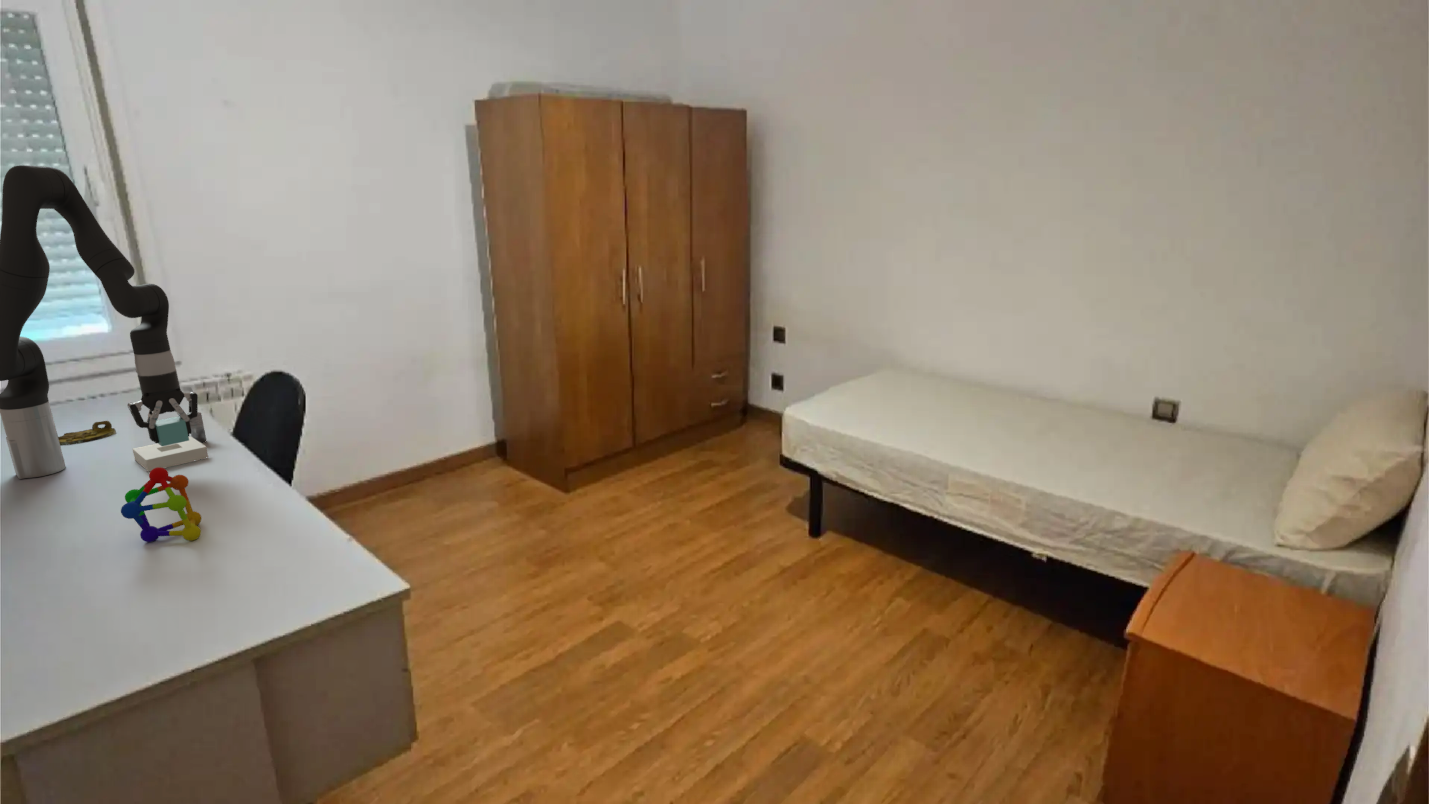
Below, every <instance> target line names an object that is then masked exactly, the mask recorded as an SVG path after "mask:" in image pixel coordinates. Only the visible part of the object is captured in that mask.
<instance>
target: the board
mask: <svg viewBox="0 0 1429 804" xmlns="http://www.w3.org/2000/svg"><path fill="white" fill-rule="evenodd" d="M188 437H189V441H185V442H180V443H176V444H171V445H166V446H161V445H159V444H158V443H154V444H148V445H144V446H139V447H134V448H132V453H133V458H134V460H135V462H137V463H138V464H139V465H140V466H142V467H143V469H145V470H146V471H147V472H149V473H150V471H151V470H153V469H154V468H158V467H161V468H164V469H166V468H170V467H175V466H179V465H183V464H187V463H190V462H195V461H194V460H196V461H200V459H201V460H204V458H205V459H207V458H206V457H209V453H208V447H207V446H206V445H205V444H204V443H200V442H199V441H197V440H196V439H194V438H193V437H192V436H188Z"/></svg>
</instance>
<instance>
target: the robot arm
mask: <svg viewBox="0 0 1429 804" xmlns="http://www.w3.org/2000/svg"><path fill="white" fill-rule="evenodd" d="M4 175H5V176H4V178H3V184H2V195H1V198H2V199H1V200H2V201H1V202H2V203H1V207H2V208H1V228H0V382H5V381H7V384H6V387H5V388H4V389H3V390H2V391H1V392H0V418H1V421H2V424H3V427H4V428H3V429H4V432H5V433H4V434H5V440H6V443H7V447H8V451H9V454H10V458H11V462H12V465H13V469H14V473H15V475H16V476H17V478H18V479H19V480H24V479H31V478H38V477H45V476H49V475H53V474H56V473H58V472H62V471H63V470H65V469H66V462H65V458H64V455H63V451H62V447H61V446H62V445H60V442H59V438H58V437H59V436H58V431H57V428H56V425H55V424H56V423H55V419H54V417H53V411H52V408H51V404H50V400H49V394H48V393H49V391H50V382H49V377H48V371H47V365H46V362H45V361H46V360H45V357H44V354H43V352H42V350H41V348H40V346H39V345H38V344H37V342H35V341H34V340H32V339H31V338H28V337H26V336H21V334H22V333H21V332H22V330H23V328H24V326H25V324H26V323H27V322H28V320H29V318H31V316H32V314H33V313H34V312H35V310H36V309H37V308H38V306H39V305H40V304H41V302H42V300H43V298H44V297H45V295H46V292H47V289H48V288H47V287H48V283H49V282H48V281H49V277H50V270H51V269H50V262H49V259H48V256H47V255H46V253H45V250H44V249H43V247H42V244H41V242H40V241H39V240H40V239H39V238H38V234H37V226H38V225H37V224H38V218H39V213H40V211H41V210H45V209H46V210H50V209H51V210H54V211H56V212H57V213H58V214H59V215H60V216H61V217H62V218H63V219H64V220H65V222H67V223H68V225H69V227H70V229H71V231H72V233H73V237H74V238H73V239H74V243H75V247H76V250H77V254H78V255H79V256H80V258H81V260H82V261H83V262H84V264H85V265H86V266H87V267H88V268H89V270H90V271H91V272H93V274H94V275H95V276H96V278H98V280H100V283H101V285H102V287H103V289H104V291H105V293H106V296H107V298H108V300H109V302H110V304H111V306H112V308H114V310H115V311H116V312H117V313H118V314H120V315H121V316H123V317H126V318H129V319H137V318H141V320H140V323H139V325H138V326H136V327H134V328H133V329H131V331H130V332H129V338H130V343H131V346H132V351H133V356H134V364H135V365H134V366H135V372H136V374H137V378H138V382H139V383H138V384H139V388H140V391H141V398H140V400H139V401H136V402H128V403H127V408H128V410H129V413H130V414H131V416H132V417H133V421H134V422H135V424H136V426H138V428H140V429H143V428H144V429H147V432H148V436H149V439H150V441H151V442H154V444H157V443H159V439H158V434H157V430H156V428H155V425H156V421H157V420H159V416H160V415H163V414H166V413H173V412H175V413H176V414H177V415H178V417H180V418H181V419H183V420H185V423H186V428H187V432H188V437H190V435H191V432H192V431H191V427H190V419H192V418H194V417H197V415H198V411H199V409H198V403H199V400H198V398H199V397H198V396H199V395H198V393H196V392H194V391H189V392H183V391H182V390H181V385H180V381H179V377H178V372H177V371H178V370H177V369H176V368H177V367H176V362H175V359H174V356H173V353H172V351H171V347H170V341H169V337H168V332H167V331H168V325H169V313H170V311H169V310H170V303H169V298H168V296H167V294H166V292H165V291H164V290H163V289H162V287H160V286H159V285H157V284H154V283H143V284H136V285H131V283H130V282H129V281H130V280H131V278H133V277H134V275H135V272H136V271H135V268H134V266H133V265H132V264H131V262H130V261H129V260H128V258H127V257H126V256H125V255H124V254H123V253H122V252H121V250H120V249H119V248H118V247H117V245H116V244H115V243H114V242H113V241H112V240H111V239H110V237H109V236H108V234H106V232H105V231H104V230H103V228H102V227H101V225H100V224H99V221H98V220H97V219H96V217H95V215H94V213H93V212H92V211H91V209H90V207H89V206H88V204H87V203H86V201H85V199H84V198H83V196H82V194H81V193H80V191H79V189H78V188H77V187H76V185H75V183H74V182H73V181H72V179H71V178H70V177H69V176H68V175H67V174H66V173H65V172H64V171H62V170H60V169H58V168H56V167H52V166H51V167H50V166H42V165H39V166H38V165H27V164H26V165H23V164H22V165H20V164H19V165H14V166H12V167H10V168H9V169H8V170H7V171H6V173H5V174H4ZM184 398H185V400H186V402H187V401H188V412H185V410H184V409H183V408H182V407H181V404H182V401H183V399H184ZM142 406H145V407H146V408H147V409H148V414H147V420H146V421H144V419H143V417H142V415H141V412H140V411H142Z"/></svg>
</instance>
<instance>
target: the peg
mask: <svg viewBox="0 0 1429 804" xmlns="http://www.w3.org/2000/svg"><path fill="white" fill-rule="evenodd" d="M203 421H204V419H203V415H202V412H200V411H199V412H198V415H197V417H194V418H192V419H190V427H191V431H192V432H191V434H190V437H193V438H194V439H196V440H197V441H199V442H200V443H202V444H204V443H203V442H205V441H206V440H207V436H206V435H207V434H206V429H205V426H204V425H205V424H204V422H203ZM206 442H207V441H206ZM206 442H205V443H206Z"/></svg>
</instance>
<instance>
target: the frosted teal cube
mask: <svg viewBox="0 0 1429 804" xmlns="http://www.w3.org/2000/svg"><path fill="white" fill-rule="evenodd" d="M155 428H156V430H157V434H158V439H159V443H158V444H159V445H161V446H166V445H171V444H176V443H180V442H185V441H189V437H190V436H188V432H187V428H186V423H185V420H183V419H181V418H180V417H179V416H173V417H167V418H163V419H157V421H156V425H155Z"/></svg>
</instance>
